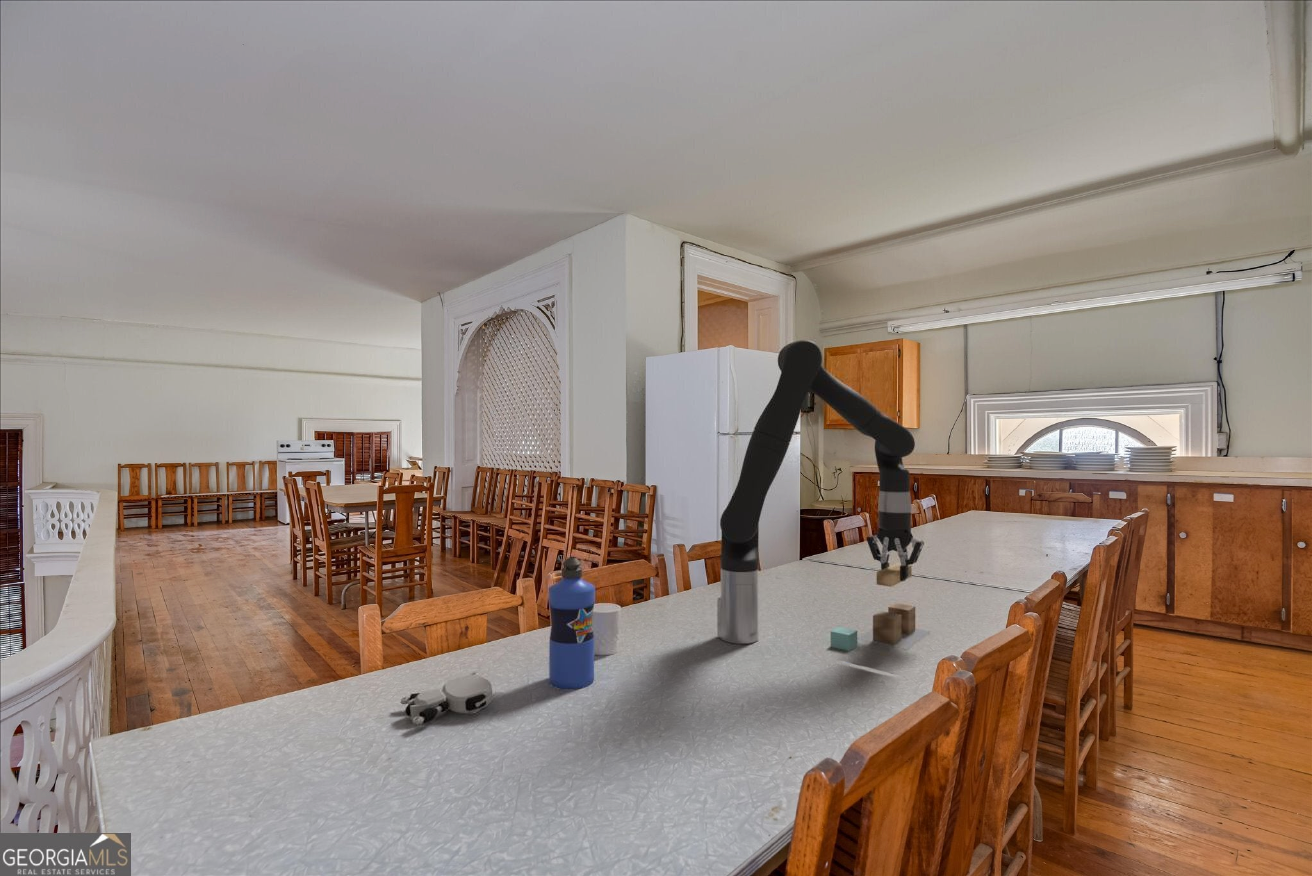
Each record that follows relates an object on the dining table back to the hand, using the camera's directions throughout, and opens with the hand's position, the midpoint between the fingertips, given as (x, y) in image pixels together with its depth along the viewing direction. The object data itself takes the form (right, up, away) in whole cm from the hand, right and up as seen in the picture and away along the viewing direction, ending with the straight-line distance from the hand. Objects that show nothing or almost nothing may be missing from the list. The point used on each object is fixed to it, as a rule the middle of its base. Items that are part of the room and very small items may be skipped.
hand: (894, 579), depth 154 cm
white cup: (-71, -15, -9) cm, 73 cm away
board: (0, -15, 0) cm, 15 cm away
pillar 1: (-3, -14, -4) cm, 15 cm away
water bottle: (-76, -15, -27) cm, 82 cm away
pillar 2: (+3, -14, +4) cm, 15 cm away
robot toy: (-96, -15, -41) cm, 106 cm away
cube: (-15, -15, -8) cm, 23 cm away
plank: (0, 0, 0) cm, 0 cm away
